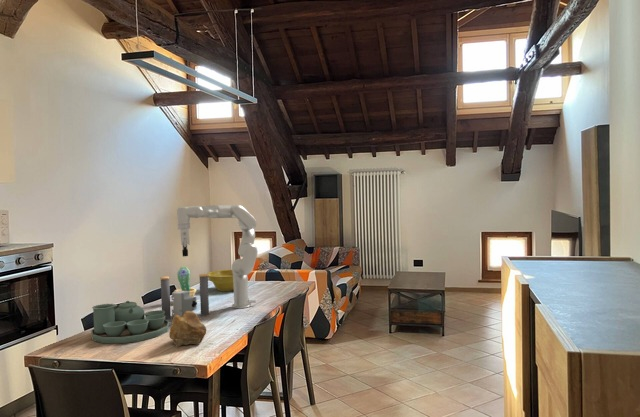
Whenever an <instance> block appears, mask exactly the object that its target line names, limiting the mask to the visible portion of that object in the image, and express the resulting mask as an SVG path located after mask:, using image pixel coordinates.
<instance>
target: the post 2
mask: <svg viewBox="0 0 640 417" xmlns="http://www.w3.org/2000/svg"><path fill="white" fill-rule="evenodd" d="M198 276H199V300H200V301H199V302H200V316H208V315H210V305H209V304H210V302H209V278H208V274H207V273H201V274H199V275H198Z"/></svg>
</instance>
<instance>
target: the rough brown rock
mask: <svg viewBox="0 0 640 417" xmlns="http://www.w3.org/2000/svg"><path fill="white" fill-rule="evenodd" d="M172 318H173V319H172V321H171V325H170V329H169V338H170V339H171V340H172V341H173V344H174V345H175V346H176V347H180V346H183V345H184V346H187V345H189V344H192V345H197V346H198V345H199V344H201V343H202V341H203V339H204V337H205V336H206V335H207V327H206V325H204V324H203V323H202V321H201V319H200V318H199V316H198V315H197V313H196V312H194V311H186V312H184V314H183V316H182V317H180V316H178V315H175V316H174V317H172Z"/></svg>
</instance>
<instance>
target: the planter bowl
mask: <svg viewBox="0 0 640 417" xmlns="http://www.w3.org/2000/svg"><path fill="white" fill-rule="evenodd" d="M206 274H208V281H210V282H212V283H213V285H214V287H215V288H216V289H217V290H218V291H219V292H220V291H221V292H231V291H234V282H233V272H232V269H222V270H221V269H220V270H215V271H211V272H207V273H206Z"/></svg>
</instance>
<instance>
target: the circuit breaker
mask: <svg viewBox="0 0 640 417" xmlns="http://www.w3.org/2000/svg"><path fill="white" fill-rule="evenodd" d="M171 301H172V307H173V309H172V310H171V315H172V318H174V316H175V315H178V316H180V317H182V316H183V314H184V312H186V311H192V312H194V311H195V310H197V305H198V302H197V297H196V296H194V297H190V292H189V291H176V292H174V291H173V292H172V293H171Z"/></svg>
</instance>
